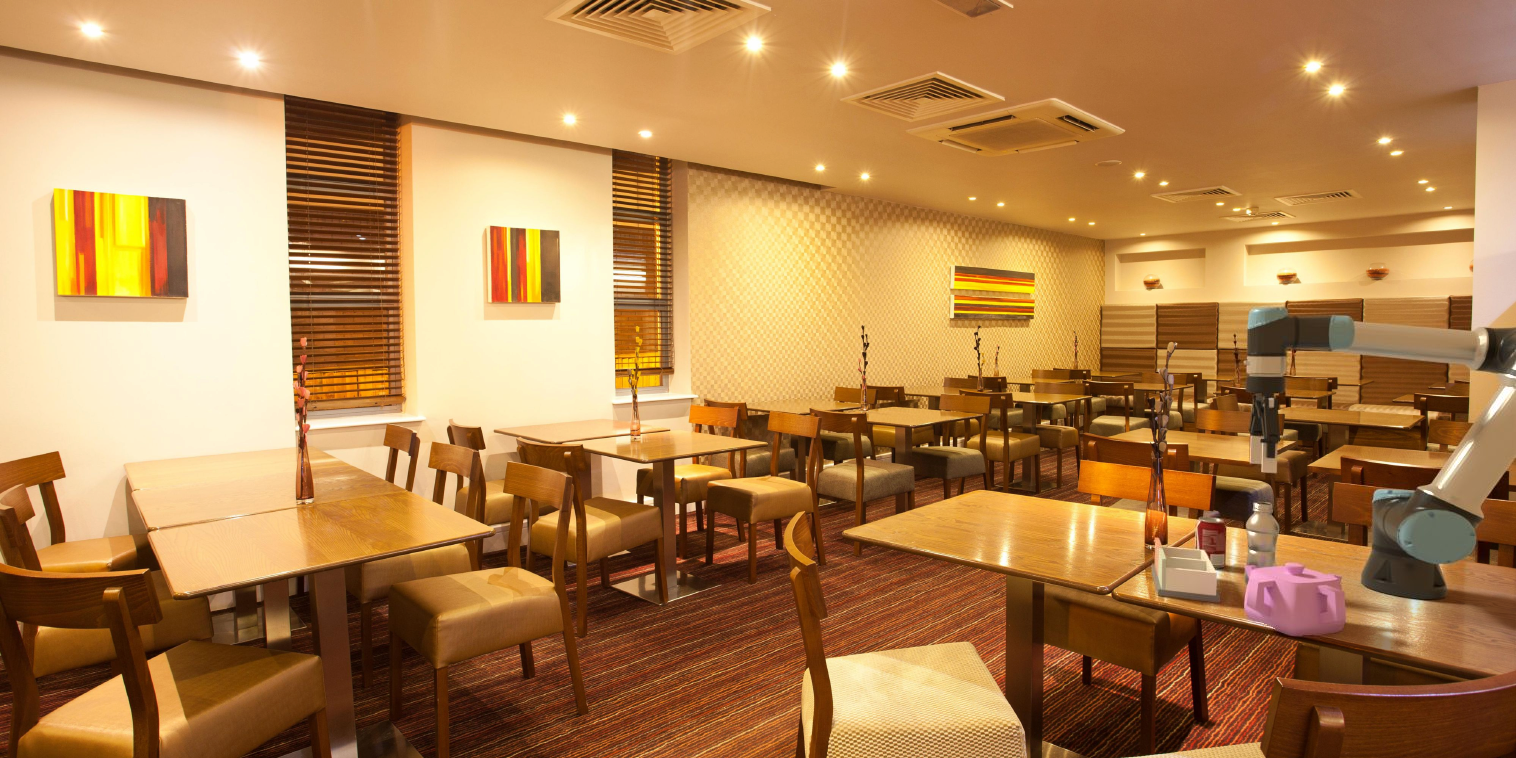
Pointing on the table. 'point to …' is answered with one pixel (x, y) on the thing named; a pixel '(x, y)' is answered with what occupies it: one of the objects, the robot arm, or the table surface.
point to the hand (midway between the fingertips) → (1262, 468)
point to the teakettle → (1295, 599)
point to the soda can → (1212, 540)
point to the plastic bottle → (1261, 537)
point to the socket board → (1184, 574)
